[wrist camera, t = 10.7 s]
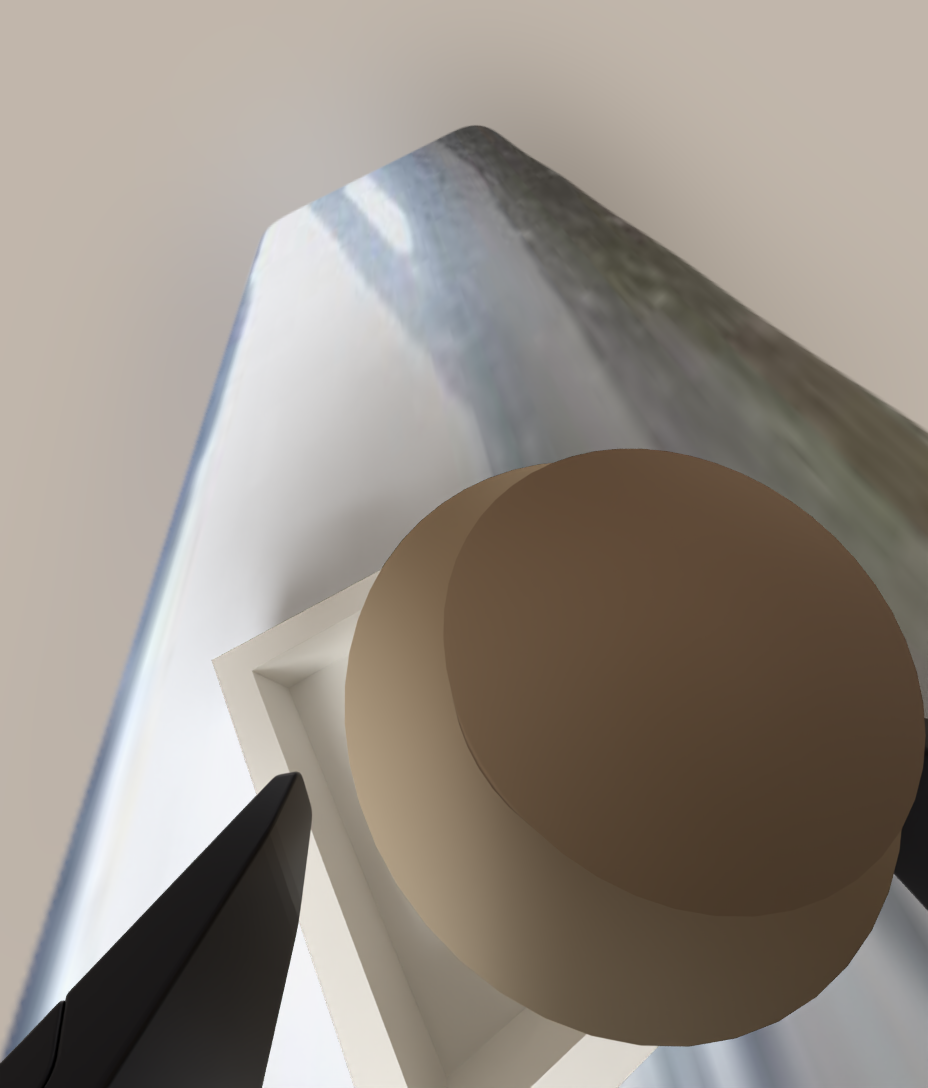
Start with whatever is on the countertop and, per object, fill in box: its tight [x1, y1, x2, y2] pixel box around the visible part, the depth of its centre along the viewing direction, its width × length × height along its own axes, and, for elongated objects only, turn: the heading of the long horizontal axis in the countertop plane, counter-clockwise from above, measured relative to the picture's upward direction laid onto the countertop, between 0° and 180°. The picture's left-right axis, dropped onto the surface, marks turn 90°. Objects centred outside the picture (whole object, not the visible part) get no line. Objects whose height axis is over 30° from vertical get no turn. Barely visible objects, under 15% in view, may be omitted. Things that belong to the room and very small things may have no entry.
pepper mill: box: [345, 449, 926, 1046], centre depth 9 cm, size 5×5×14 cm
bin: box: [212, 570, 658, 1088], centre depth 15 cm, size 14×14×4 cm
